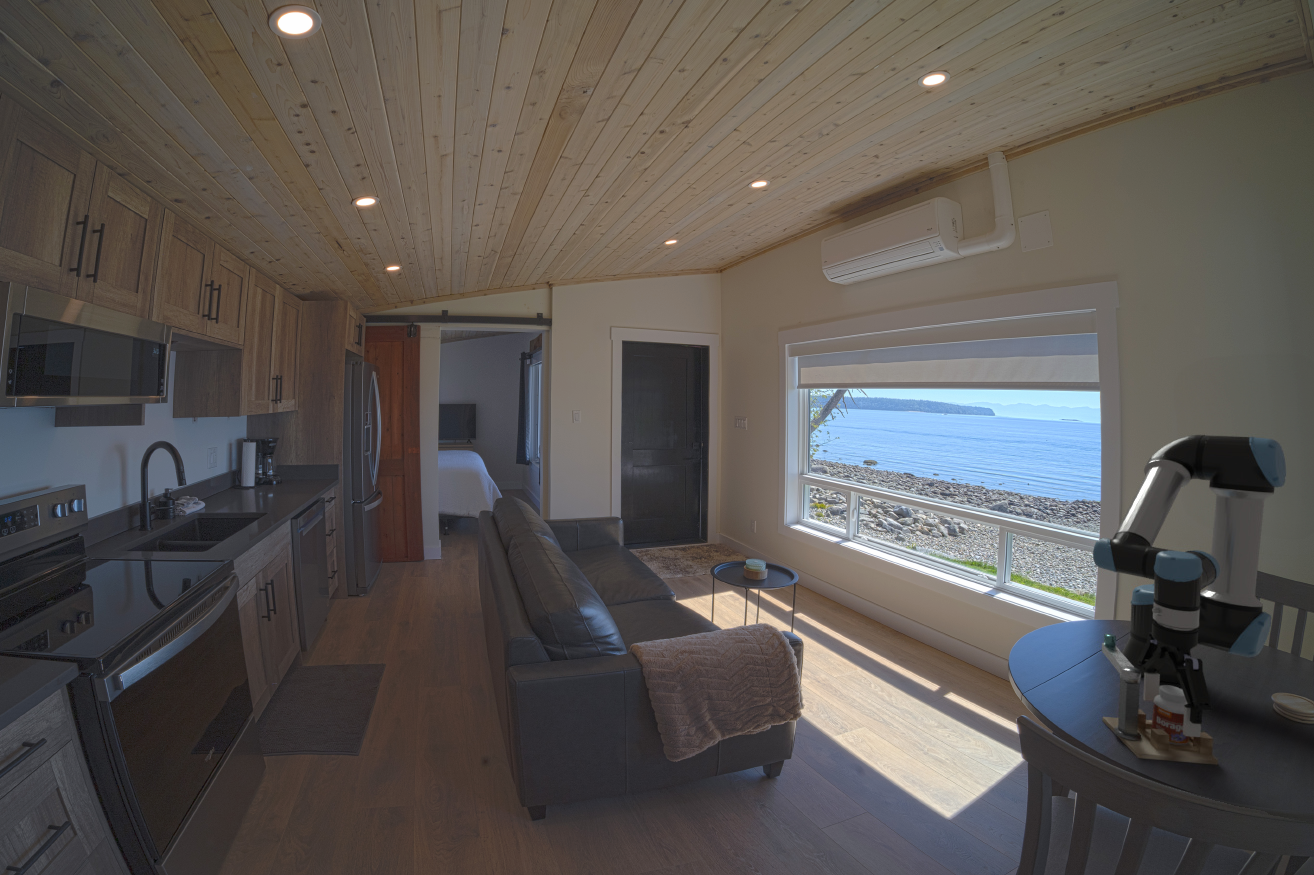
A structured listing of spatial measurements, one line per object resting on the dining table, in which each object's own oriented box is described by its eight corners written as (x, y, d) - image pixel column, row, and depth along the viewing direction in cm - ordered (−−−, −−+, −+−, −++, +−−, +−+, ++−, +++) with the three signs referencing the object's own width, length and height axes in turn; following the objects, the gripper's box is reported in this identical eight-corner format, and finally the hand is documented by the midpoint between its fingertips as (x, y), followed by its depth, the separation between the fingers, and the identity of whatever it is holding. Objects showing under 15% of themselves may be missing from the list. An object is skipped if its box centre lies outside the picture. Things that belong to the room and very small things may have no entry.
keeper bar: (1143, 684, 129) (1144, 664, 128) (1123, 681, 130) (1124, 662, 130) (1116, 652, 143) (1117, 634, 143) (1098, 650, 145) (1099, 632, 144)
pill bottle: (1150, 739, 130) (1154, 691, 129) (1151, 726, 135) (1155, 680, 134) (1188, 750, 126) (1192, 701, 125) (1188, 737, 131) (1192, 689, 130)
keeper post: (1133, 729, 134) (1135, 676, 133) (1146, 742, 129) (1149, 687, 128) (1109, 727, 135) (1111, 674, 134) (1121, 740, 130) (1124, 685, 129)
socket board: (1173, 726, 137) (1174, 707, 136) (1218, 764, 123) (1219, 744, 123) (1102, 720, 139) (1103, 702, 139) (1138, 757, 126) (1139, 737, 125)
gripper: (1122, 601, 141) (1118, 686, 143) (1195, 649, 117) (1189, 750, 119) (1158, 602, 140) (1153, 688, 142) (1239, 651, 115) (1233, 753, 117)
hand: (1170, 717), depth 130 cm, fingers open, 13 cm apart
